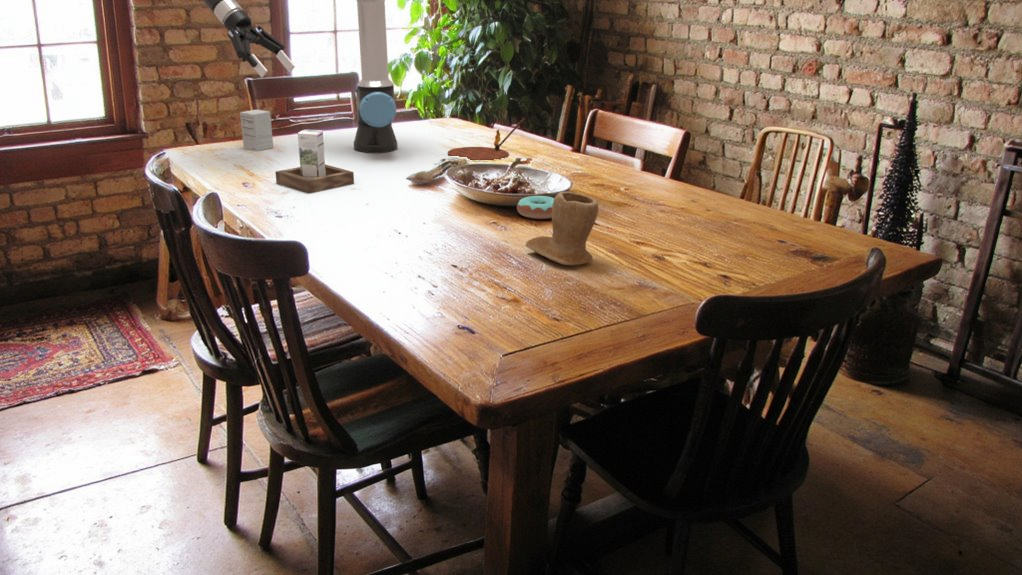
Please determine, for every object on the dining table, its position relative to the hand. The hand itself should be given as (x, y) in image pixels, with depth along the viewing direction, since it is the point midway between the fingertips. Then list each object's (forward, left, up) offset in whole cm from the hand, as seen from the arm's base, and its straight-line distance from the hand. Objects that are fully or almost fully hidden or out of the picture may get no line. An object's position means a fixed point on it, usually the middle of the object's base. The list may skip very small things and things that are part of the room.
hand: (278, 71), depth 254 cm
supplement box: (-10, -32, -30) cm, 45 cm away
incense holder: (-63, +28, -30) cm, 75 cm away
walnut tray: (+5, +22, -30) cm, 37 cm away
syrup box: (+5, +22, -29) cm, 36 cm away
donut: (-18, +89, -30) cm, 96 cm away
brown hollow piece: (+5, +116, -30) cm, 120 cm away
